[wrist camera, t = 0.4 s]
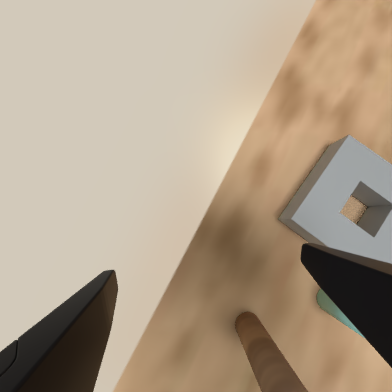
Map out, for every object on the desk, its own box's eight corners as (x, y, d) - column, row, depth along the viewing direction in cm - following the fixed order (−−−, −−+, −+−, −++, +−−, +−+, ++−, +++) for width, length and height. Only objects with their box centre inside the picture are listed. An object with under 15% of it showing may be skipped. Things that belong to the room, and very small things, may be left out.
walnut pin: (264, 322, 21) (319, 398, 12) (250, 344, 21) (296, 438, 12) (244, 306, 21) (284, 370, 12) (230, 327, 21) (260, 409, 12)
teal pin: (344, 296, 22) (390, 319, 17) (332, 316, 21) (375, 346, 16) (325, 281, 22) (364, 299, 17) (312, 301, 21) (348, 326, 16)
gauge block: (408, 201, 23) (440, 198, 20) (360, 281, 22) (387, 290, 19) (329, 145, 24) (348, 134, 21) (277, 219, 22) (291, 219, 20)
